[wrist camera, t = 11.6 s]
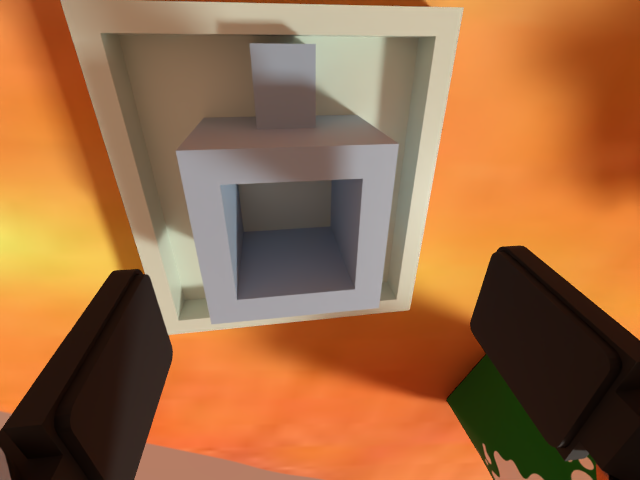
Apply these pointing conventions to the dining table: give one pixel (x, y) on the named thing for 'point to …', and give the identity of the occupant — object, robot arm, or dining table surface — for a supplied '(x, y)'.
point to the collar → (288, 166)
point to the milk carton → (509, 431)
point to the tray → (238, 101)
